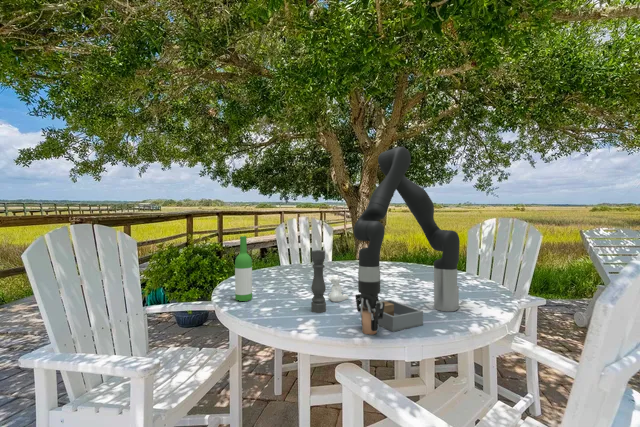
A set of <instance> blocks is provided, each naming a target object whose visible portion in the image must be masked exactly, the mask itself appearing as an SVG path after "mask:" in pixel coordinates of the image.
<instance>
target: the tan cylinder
mask: <svg viewBox="0 0 640 427" xmlns="http://www.w3.org/2000/svg"><path fill="white" fill-rule="evenodd" d="M374 316H375V312H374ZM371 320H372V319H371V315H370V313H369V311H368V310H363V311H362V322H361V328H362V330H361V332H362V333H363V334H365V335H368V334H369V335H368V336H370V335H373V336H374V335H376V334H377V333H378V330H377V331H372V330H371Z"/></svg>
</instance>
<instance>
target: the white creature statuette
mask: <svg viewBox="0 0 640 427" xmlns="http://www.w3.org/2000/svg"><path fill="white" fill-rule="evenodd" d="M328 281H329V282H331V284H332V286H331V290H330V291H331V292H330V293H329V294H328V299H329V300H330V301H331V302H333V303H340V302H344V301H346V300H348V299H349V295H348V294H346V293H344V294H342V291H343V290H342V289H343V288H342V286H341V284H340V283H341V281H342V279H341V277H340V276H339V275H338V274H333V275H331V277H328Z"/></svg>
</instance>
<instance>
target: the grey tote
mask: <svg viewBox="0 0 640 427" xmlns="http://www.w3.org/2000/svg"><path fill="white" fill-rule="evenodd" d="M379 301H380V302H384V301H386V302H389V303H392V304H394V316H392V315H389V314H387V313H385V312H383V318H382V319H378V326H380V327H382V328H383V329H386V330H388V331H391V332H393V333H394V332H398V331H405V330H407V329H412V328H417V327H419V326H421V327H422V326H423V325H424V311H423V310H420V309H417V308H415V307H412V306H409V305H406V304H403V303H401V302H398V301H395V300H393V299H388V300H382V301H381V300H379ZM372 310H375V308H374V309H372ZM379 315H380V313H379Z"/></svg>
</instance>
